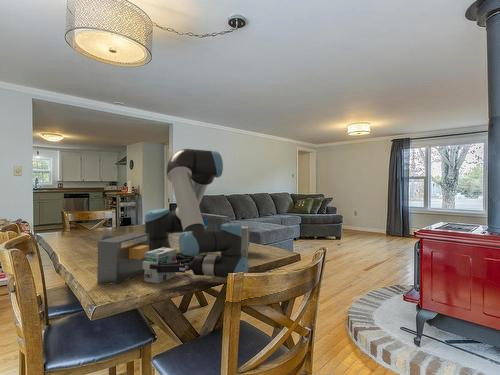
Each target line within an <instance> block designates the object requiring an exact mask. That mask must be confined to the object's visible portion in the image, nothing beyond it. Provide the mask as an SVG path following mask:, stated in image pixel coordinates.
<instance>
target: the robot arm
mask: <svg viewBox="0 0 500 375" xmlns="http://www.w3.org/2000/svg"><path fill="white" fill-rule="evenodd" d="M169 158H170V159H169V160H168V162H167V166H166V176H167V179H168V181H169V182H170V183H171V185H172V190H173V194H174V197H175V202H176V206H177V207H175V210H172V211H171V210H169V208H156V209H152V210H149V211H147V212H145V214H144V233H147V234H149V251H152V250H156V249H159V248H163V247H165V248H171V249H172V246H171V244H170V241H169V240H170V238H169V235H170V234H179V237H178V247H179V251H180V254H179V253H178V254H176V262H172V263H160V261H159V262H149V261H143V269H148V270H157V273H173V272H176V273H182V274H184V273H186V272H188V271H192V274H194V276H201V277H203V276H206V277H211V278H212V279H215V278H222V279H228V278H227V276H228V273H237V272H243V273H247V274H248V272H249V260H248V257H247V258H244V257H242V252H241V250H242V227H241V226H242V225H241V224H239V223H237V222H225V223H222V224H221V225H220V229H211V230H208V231H206V229H205V226H204V222H203V219H204V218H203V216H202V212H201V209H200V204H201V202H202V199H203V197H204V195H205V192H206V190H207V187H208V186H209V185H211V184H213V182H214V179H215V178H217V179H218V178H220V177H221V176H222V175H223V171H224V163H223V161H224V160H223V158H222V155H221V153H220V152H218V151H216V150H215V151H214V150H211V149H210V150H205V149H191V148H183V149H180V150H178V151H176V152H174V153H173V154H172V156H171V157H169ZM202 218H203V219H202ZM202 253H209V255H203V254H202ZM210 253H220V255H215V254H210ZM192 255H196V256H192Z"/></svg>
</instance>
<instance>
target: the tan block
mask: <svg viewBox="0 0 500 375" xmlns="http://www.w3.org/2000/svg"><path fill="white" fill-rule="evenodd" d="M145 252H149V246H145V245H136V246H133V247H130V248H129V259H142V258H145Z"/></svg>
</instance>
